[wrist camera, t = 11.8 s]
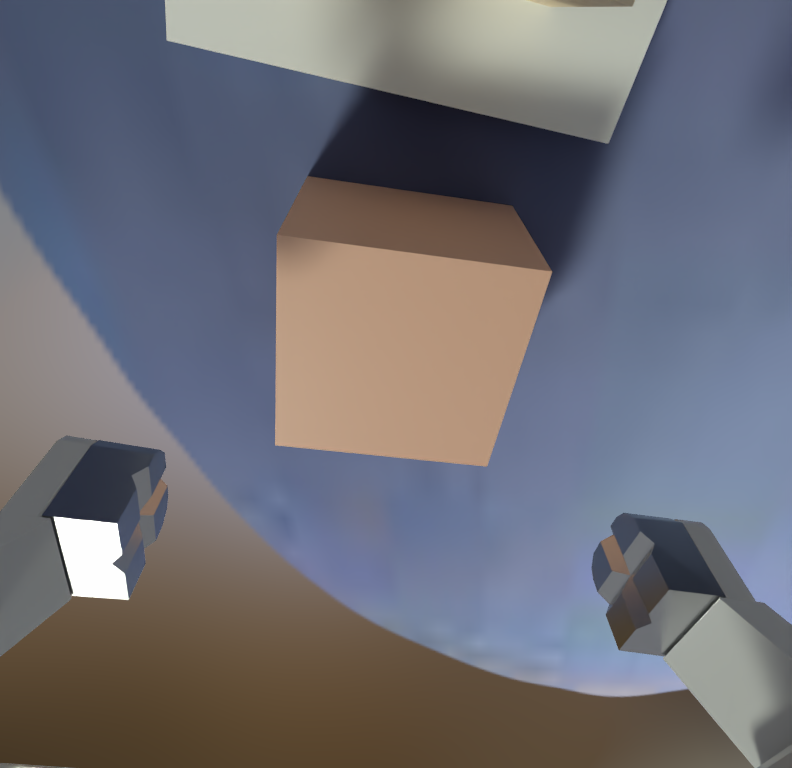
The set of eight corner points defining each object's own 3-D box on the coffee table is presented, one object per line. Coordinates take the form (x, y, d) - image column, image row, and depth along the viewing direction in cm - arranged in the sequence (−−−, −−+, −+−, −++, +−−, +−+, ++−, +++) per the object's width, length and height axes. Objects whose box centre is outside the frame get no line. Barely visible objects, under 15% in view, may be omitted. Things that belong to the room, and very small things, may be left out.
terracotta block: (308, 175, 14) (276, 235, 10) (511, 204, 14) (552, 271, 11) (300, 350, 17) (275, 445, 13) (467, 370, 17) (487, 466, 14)
